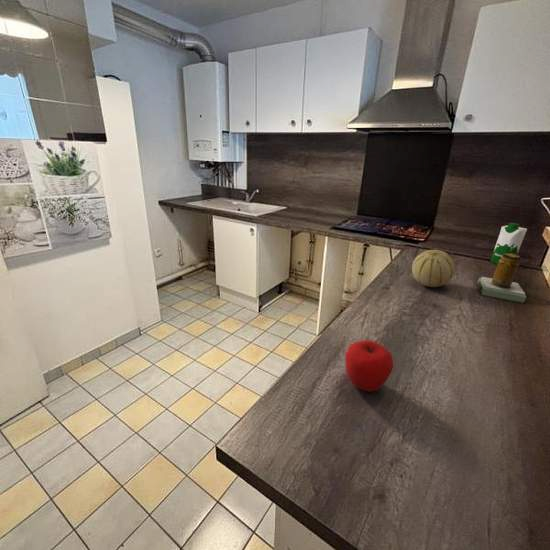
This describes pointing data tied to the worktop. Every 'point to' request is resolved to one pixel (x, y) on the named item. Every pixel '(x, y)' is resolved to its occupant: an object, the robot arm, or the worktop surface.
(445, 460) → the worktop surface
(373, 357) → the apple
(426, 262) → the cantaloupe
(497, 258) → the milk carton
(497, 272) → the condiment
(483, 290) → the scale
